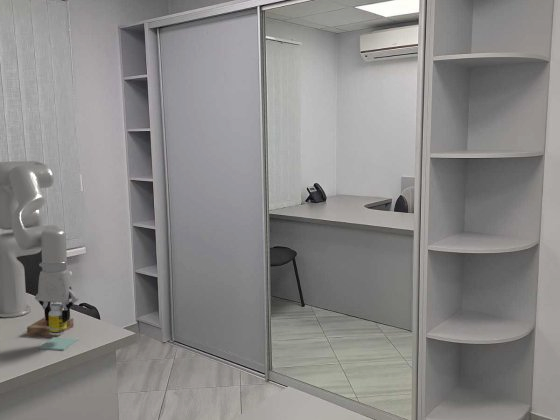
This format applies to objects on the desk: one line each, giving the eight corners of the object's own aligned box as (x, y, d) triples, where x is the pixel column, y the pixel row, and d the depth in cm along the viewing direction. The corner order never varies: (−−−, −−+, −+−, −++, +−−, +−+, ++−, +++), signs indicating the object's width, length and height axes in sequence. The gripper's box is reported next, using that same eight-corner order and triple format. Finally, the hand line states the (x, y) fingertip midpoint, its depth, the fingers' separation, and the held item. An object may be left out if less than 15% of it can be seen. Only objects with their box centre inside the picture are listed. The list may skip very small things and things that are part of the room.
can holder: (27, 335, 191) (27, 327, 190) (45, 324, 202) (45, 316, 201) (56, 337, 189) (56, 329, 189) (73, 326, 200) (73, 318, 199)
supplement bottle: (60, 336, 179) (59, 307, 178) (45, 334, 180) (44, 306, 179) (70, 330, 185) (68, 302, 183) (55, 329, 186) (54, 301, 184)
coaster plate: (38, 348, 179) (38, 347, 179) (53, 338, 188) (53, 337, 188) (63, 350, 178) (63, 349, 178) (78, 340, 187) (78, 338, 187)
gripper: (23, 268, 177) (27, 322, 180) (73, 270, 174) (75, 325, 177) (37, 263, 184) (40, 315, 187) (85, 265, 182) (87, 318, 184)
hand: (57, 319), depth 182 cm, fingers closed on supplement bottle, 5 cm apart
